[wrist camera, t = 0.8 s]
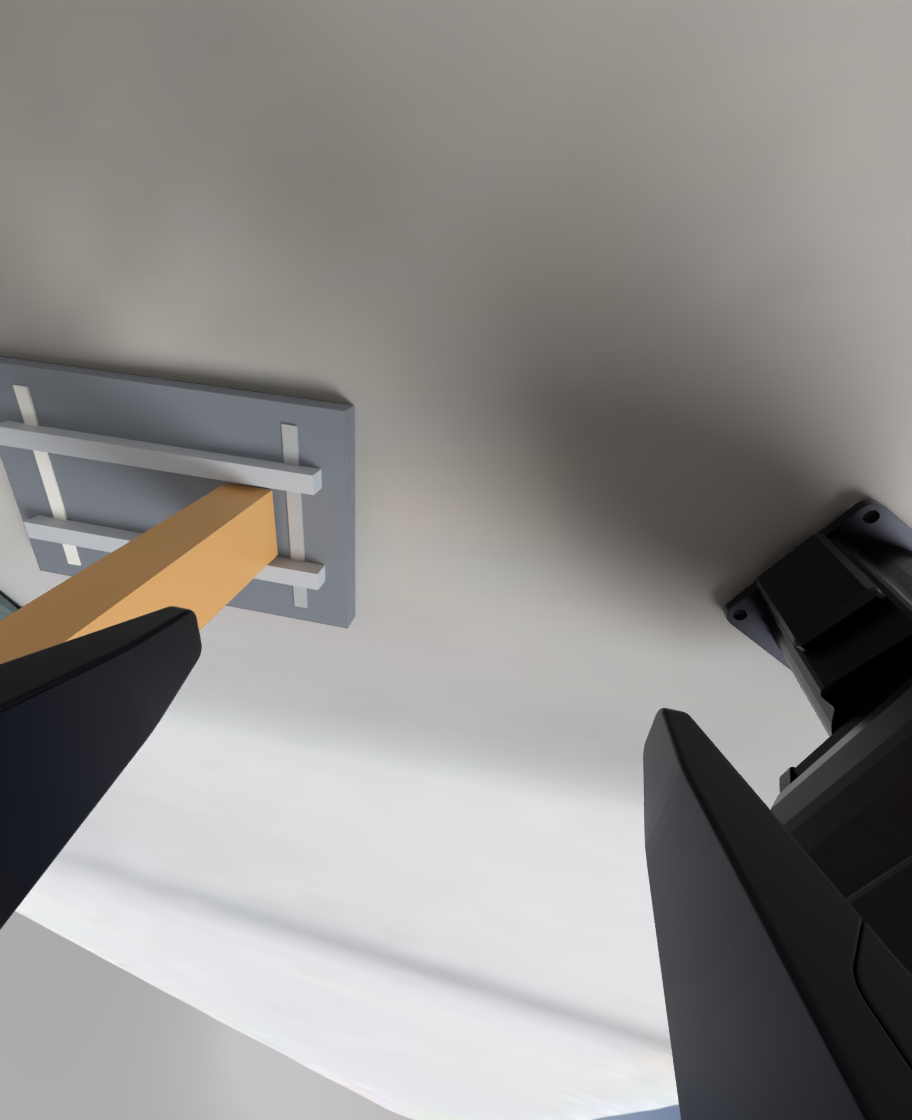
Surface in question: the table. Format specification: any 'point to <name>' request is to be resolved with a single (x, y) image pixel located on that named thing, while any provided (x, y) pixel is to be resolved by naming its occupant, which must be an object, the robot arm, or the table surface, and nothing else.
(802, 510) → the table surface
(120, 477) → the board
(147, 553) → the tan wooden bar
